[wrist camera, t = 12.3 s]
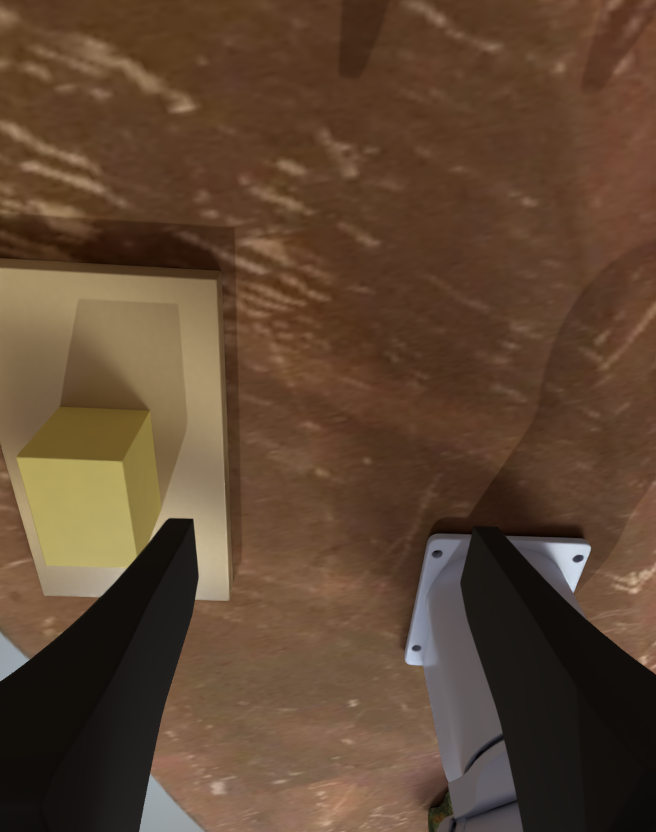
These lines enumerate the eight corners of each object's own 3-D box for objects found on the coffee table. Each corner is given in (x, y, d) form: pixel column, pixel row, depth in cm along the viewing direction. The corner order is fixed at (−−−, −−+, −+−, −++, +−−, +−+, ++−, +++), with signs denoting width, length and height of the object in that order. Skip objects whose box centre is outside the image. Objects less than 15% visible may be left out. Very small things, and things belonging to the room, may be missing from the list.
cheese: (162, 509, 23) (138, 569, 20) (80, 506, 23) (44, 566, 20) (150, 410, 21) (122, 460, 18) (58, 405, 21) (14, 456, 18)
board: (233, 582, 27) (229, 601, 26) (53, 577, 27) (43, 596, 26) (221, 270, 19) (216, 279, 18) (-33, 255, 19) (-53, 264, 18)
